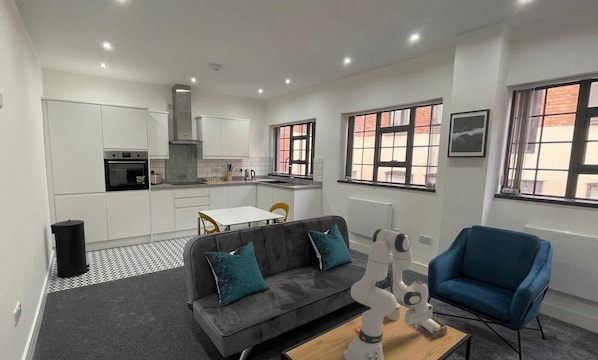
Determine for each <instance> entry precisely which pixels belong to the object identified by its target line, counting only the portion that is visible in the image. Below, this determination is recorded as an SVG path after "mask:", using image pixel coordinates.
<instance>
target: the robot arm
mask: <svg viewBox="0 0 598 360" xmlns="http://www.w3.org/2000/svg"><path fill="white" fill-rule="evenodd" d="M411 245H412V243H411V239H410V237H409V236H408V235H407V234H405V233H402V232H399V231H395V230H391V229H385V228H379V229H376V230H375V232H373V235H372V244H371V246H370V249H369V253H368V258H367V265H366V270H365V273H364V275H363V277H361V279H359V280H358V281H355V283H353V284H352V285H351V288H350V296H351V298H352V299H353V300H354V301H356V302H357V303H359V304H362V305H364V306H367V307H369V308H370V309H371V310H370V309H369V310H366V311H364V312H363V314H362V315H361V326H360V329H359V330H358V329H355V331H354V333H355V334H356V335H357V336H356V337H355V338H354V339H352V341H351V342H349V344H348V347H347V349H345V350H344V351H343V353H342V355H343V358H344V359H345V360H384V358H385V355H384V349H383V342H382V341H383V323H384V318H385V317H386V315H387V314H389V313H392V312H393V311H394V310H395V309H396V306H397V303H398V301H397V299H398V300H399V301H401V302H402V303H403V304H404V305H406V306H409V307H410V306H411V308H409V309H407V311H405V314H404V319H403V320H404V323H405V324H406V325H407V326H411V325H414V328H415V329H416V330H417V329H421V327H422V326H421V324H422V321H425V320H428V319H431V318H432V316H433V308H434V306H433V305H432V304H430V303H428V300H427V299H428V295H429V289H428V285H427V283H425V282H424V281H421V280H419V279H415V280H413V282H412V283H411V284H410V285H409V286H408V285H406V284H405V282H404V281H403V271H406V270H409V269H411V268H412V266H413V263H414V258H413V252H412V251H413V250H412V246H411ZM390 252H392V261H391V283H390V288H389V290H390V291H388V290H386V289H383V288H380V287H377V286H376V284H377V282H381V281H384V280H385V279H386V278H388V277H387V276H388V269H389V263H390Z"/></svg>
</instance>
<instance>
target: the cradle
mask: <svg viewBox="0 0 598 360" xmlns="http://www.w3.org/2000/svg"><path fill="white" fill-rule="evenodd" d="M431 319H432V320H433V321H435V322H436V323H437V324H439V325H440V328H437V329H434V335H433V334H432V333H431V332H429V331H428V330H427V329H425V328H424V327H423V326H421V328H420V329H421V330H422V331H424V332H425V333H426V334H428V335H430V337H432V338H434V339H437V338H441V337H444V336H446V335H447V334H448V326H447V325H446V323H444V322H443V321H441V320H439V319H438V318H437V317H435V316H433V315H432V318H431ZM440 336H441V337H440Z"/></svg>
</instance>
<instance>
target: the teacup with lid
mask: <svg viewBox="0 0 598 360" xmlns="http://www.w3.org/2000/svg"><path fill="white" fill-rule="evenodd" d="M400 311H401V304H400V303H399V302H397V306H396V309H395V310H394V311H393V312H392V313H389V314H387V315H386V316H385V317H386V318H387V319H388V320H390V321H399V320H400V313H401V312H400Z"/></svg>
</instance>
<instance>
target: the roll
mask: <svg viewBox="0 0 598 360" xmlns="http://www.w3.org/2000/svg"><path fill="white" fill-rule="evenodd" d="M421 327H422V328H424V329H425V330H427V331H428V332H429V333H431V334H432V335H434V329H437V328H440V325H439V324H437V323H436V322H435V321H433V320H432V319H428V320H425V321H422V324H421Z"/></svg>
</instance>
